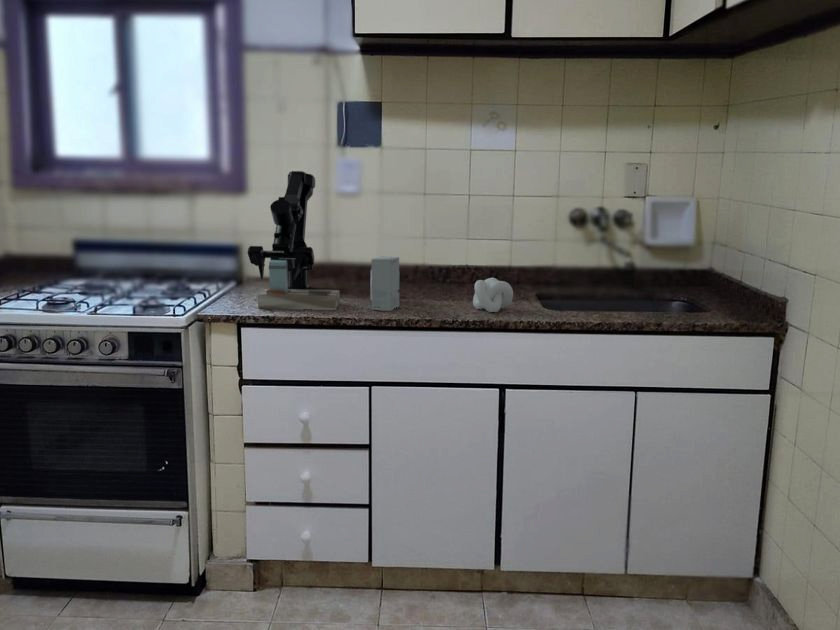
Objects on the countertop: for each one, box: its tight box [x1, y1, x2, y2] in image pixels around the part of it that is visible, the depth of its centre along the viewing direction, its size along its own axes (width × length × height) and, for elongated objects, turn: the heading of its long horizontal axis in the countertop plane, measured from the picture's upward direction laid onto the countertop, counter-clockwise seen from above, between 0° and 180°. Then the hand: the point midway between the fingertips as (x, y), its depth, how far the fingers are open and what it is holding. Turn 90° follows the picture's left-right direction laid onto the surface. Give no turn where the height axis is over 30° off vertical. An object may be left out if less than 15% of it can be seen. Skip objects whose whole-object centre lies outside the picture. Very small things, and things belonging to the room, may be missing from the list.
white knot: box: [472, 277, 514, 313], centre depth 219 cm, size 11×12×9 cm
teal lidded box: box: [268, 259, 289, 294], centre depth 220 cm, size 5×5×12 cm
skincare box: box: [371, 256, 400, 312], centre depth 219 cm, size 8×6×15 cm
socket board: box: [257, 288, 341, 311], centre depth 221 cm, size 10×22×5 cm, turn 89°
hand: (277, 278), depth 219 cm, fingers open, 9 cm apart
